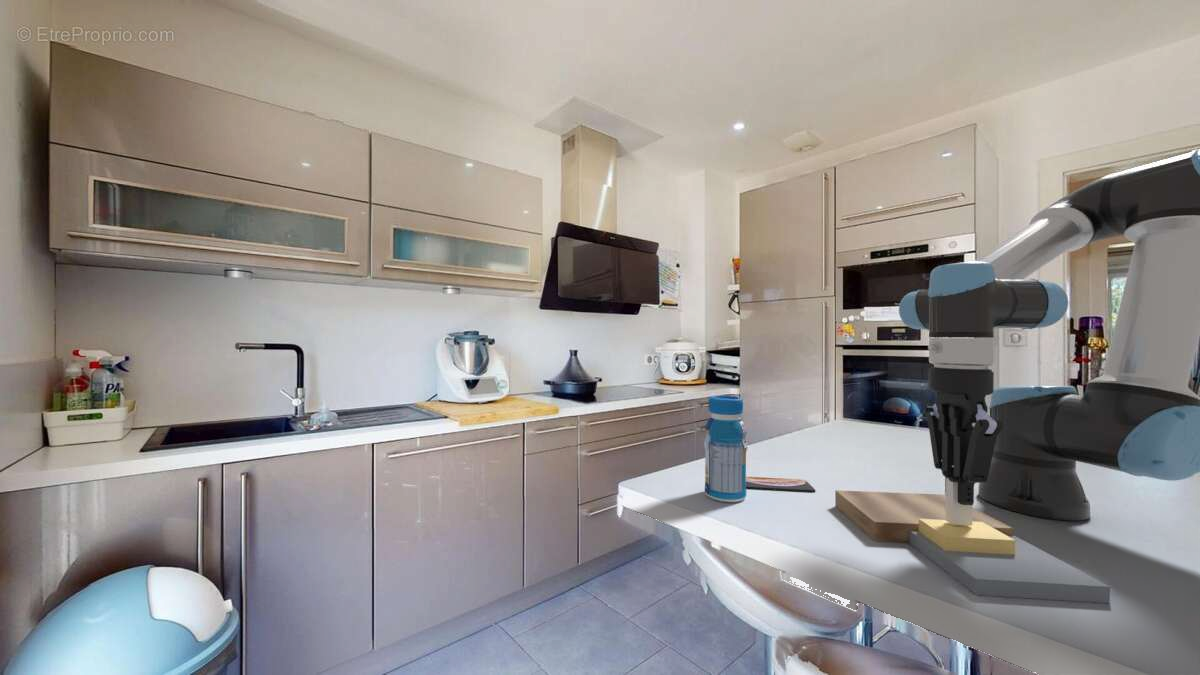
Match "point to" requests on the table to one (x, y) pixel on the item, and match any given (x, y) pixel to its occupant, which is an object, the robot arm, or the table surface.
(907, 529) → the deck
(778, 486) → the smartphone
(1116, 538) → the table surface
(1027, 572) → the mat
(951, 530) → the tile
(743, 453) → the beverage bottle
